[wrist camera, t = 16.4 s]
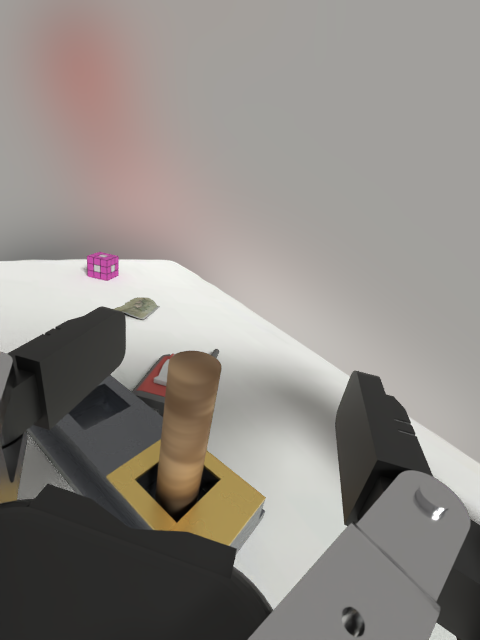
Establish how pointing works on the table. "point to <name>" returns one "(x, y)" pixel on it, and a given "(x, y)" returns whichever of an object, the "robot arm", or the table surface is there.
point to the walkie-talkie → (157, 384)
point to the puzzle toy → (102, 266)
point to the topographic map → (139, 307)
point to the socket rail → (142, 468)
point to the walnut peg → (185, 429)
